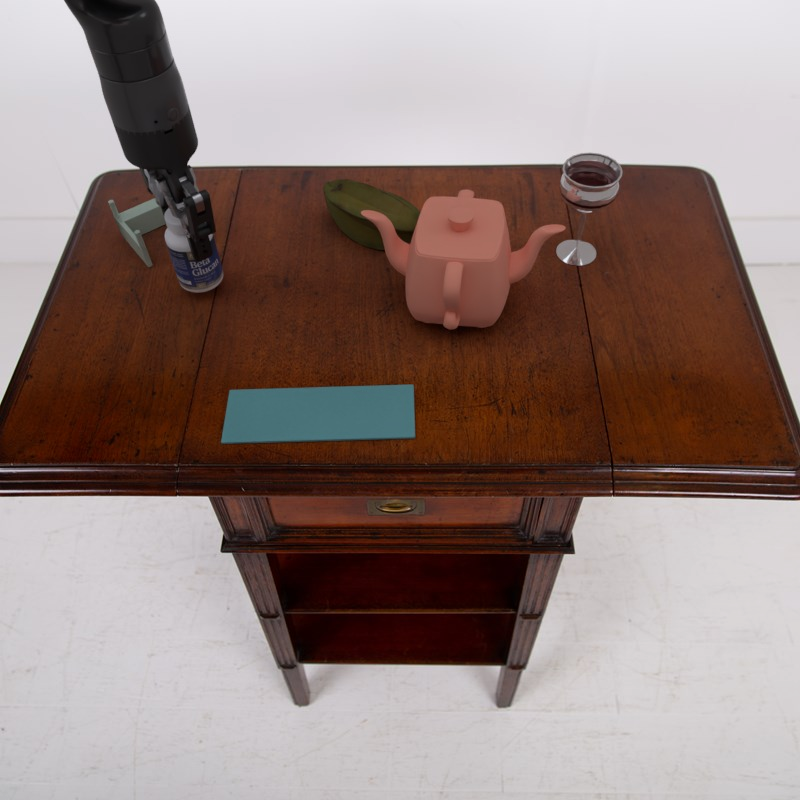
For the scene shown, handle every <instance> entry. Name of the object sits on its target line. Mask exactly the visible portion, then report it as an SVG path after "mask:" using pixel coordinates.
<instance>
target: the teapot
mask: <svg viewBox="0 0 800 800" xmlns="http://www.w3.org/2000/svg"><path fill="white" fill-rule="evenodd" d="M420 212H421V213H420V215H419V218H418V221H417V224H416V227H415V230H414V233H413V236H412V240H411V243H409V244H408V243H406V242H404V241H402V240H401V239H400V238H399V237H398V235H397V233H396V231H395V229H394V226H393V224H392V222H391V221H390V220H389V219H388V218H387V217H386V216H385V215H383V214H381V213H379V212H376V211H371V210H363V211H361V214H362V215H363V216H364V217H365V218H367V219H369V220H370V221H371V222H373V223H374V224H375V225H376V226H377V228H378V229H379V231H380V233H381V236H382V240H383V244H384V248H385V250H384V252H385V255H386V258H387V260H388V262H389V264H390V266H391V267H392V268H393V269H394V270H395V271H397V272H398V273H400V274H401V275H403V276H404V277H405V278H404V279H405V281H404V282H405V286H404V287H405V301H406V306H407V309H408V311H409V313H410V314H411V316H412V317H413V318H414V320H416V321H419V322H422V323H424V324H438V325H443V327H444V328H446V329H448V330H451V331H452V330H456V329H457V328H458V327H474V328H479V329H482V328H483V329H484V328H487V327H491V326H494V324H495V323H496V322H497V321H498V319H499V318H500V317H501V314H502V312H503V310H504V308H505V305H506V303H507V300H508V296H509V292H510V288H511V285H512V284H515V283H517V282H519V281H521V280H523V279H525V277H526V276H527V275H528V274H529V273H530V272H531V271H532V269H533V268H534V265H535V263H536V261H537V258H538V256H539V253H540V251H541V249H542V247H543V246H544V244H545V243H546V241H547V240H548V239H550V238H551V237H552V236H555V235H557V234H560V233H562V232H564V231H565V230H566V225H563V224H559V223H557V224H556V223H554V224H546V225H542V226H539V227H538V228H536V229H535V230H534V231H533V232H532V233H531V235H530V237H529V238H528V240H527V242H526V244H525V245H524V246H523V247H522V248H520V249H518V250H515V251H512V249H511V239H510V233H509V227H508V222H507V216H506V212H505V209H504V206H503V203H502V202H500V201H498V200H495V199H489V198H488V199H487V198H477V197H476V195H475V192H474V191H473V190H471V189H461V190H459V191H458V194H457V196H445V195H444V196H443V195H441V196H439V195H438V196H437V195H436V196H434V195H433V196H429V198H427V199H426V201H425V202H424V203H423V206H422V208H421V210H420Z"/></svg>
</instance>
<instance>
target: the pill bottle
mask: <svg viewBox="0 0 800 800" xmlns="http://www.w3.org/2000/svg"><path fill="white" fill-rule="evenodd" d="M176 206H177V208H178V209H179V208H181V207H183V203H180V204H176ZM164 218H165V221H166V224H165V225H166V229H165V231H164V241H165V245H166V248H167V251H168V253H169V257H170V260H171V263H172V266H173V268H174V272H175V274H176V277H177V281H178V283H179V285H180V286H181V288H182V289H183V290H185V291H187V292H190V293H197V294H199V293H206V292H209V291H212V290H213V289H215V288H216V287H218V286H219V285H220V284H221V283H222V281H223V279H224V269H223V266H222V261H221V258H220V255H219V251H218V250H219V249H218V246H217V243H216V240H215V235H214V234H210V235H208V236H209V240H210V243H211V247H212V250H213V254H212V256H210V257H208V258H206V259H204V260H202V261H200V262H197V261H196V260H195V259H194V258H193V256H192V253H191V249H190V246H189V243H188V240H187V237H186V234H185V232H184V229H183V227H182V224H181V222H180V220H179V219H178V218H176V217H174V216H173V215H172V213H171V211H170V209H169V208H168V209H167V210H166V212H165V214H164ZM186 218H187V217H186ZM187 221H188V220H187Z"/></svg>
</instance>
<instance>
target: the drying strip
mask: <svg viewBox="0 0 800 800" xmlns="http://www.w3.org/2000/svg"><path fill="white" fill-rule="evenodd" d="M415 414H416V413H415V386H414V384H411V383H410V384H385V385H384V384H379V385H377V384H376V385H347V386H346V385H345V386H315V387H314V386H313V387H278V388H277V387H276V388H247V389H246V388H245V389H244V388H243V389H229V392H228V397H227V404H226V409H225V416H224V420H223V421H224V422H223V428H222V433H221V434H222V435H221V440H220V443H221V445H234V444H235V445H236V444H264V443H265V444H269V443H271V444H273V443H299V442H300V443H302V442H305V443H306V442H307V443H308V442H337V441H338V442H339V441H340V442H341V441H343V442H344V441H345V442H346V441H378V440H380V441H381V440H408V439H409V440H410V439H412V440H413V439H416V419H415V418H416V417H415Z"/></svg>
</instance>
